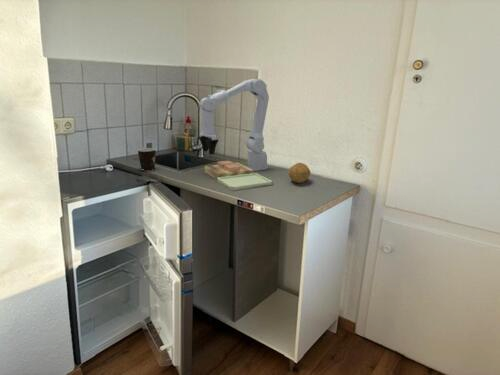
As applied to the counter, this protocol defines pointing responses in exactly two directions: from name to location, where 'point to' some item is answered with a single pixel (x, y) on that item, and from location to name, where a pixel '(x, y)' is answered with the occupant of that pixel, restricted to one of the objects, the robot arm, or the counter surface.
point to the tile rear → (224, 163)
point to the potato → (299, 172)
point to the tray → (244, 181)
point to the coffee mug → (147, 158)
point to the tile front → (232, 167)
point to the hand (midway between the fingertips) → (208, 152)
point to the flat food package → (220, 172)
